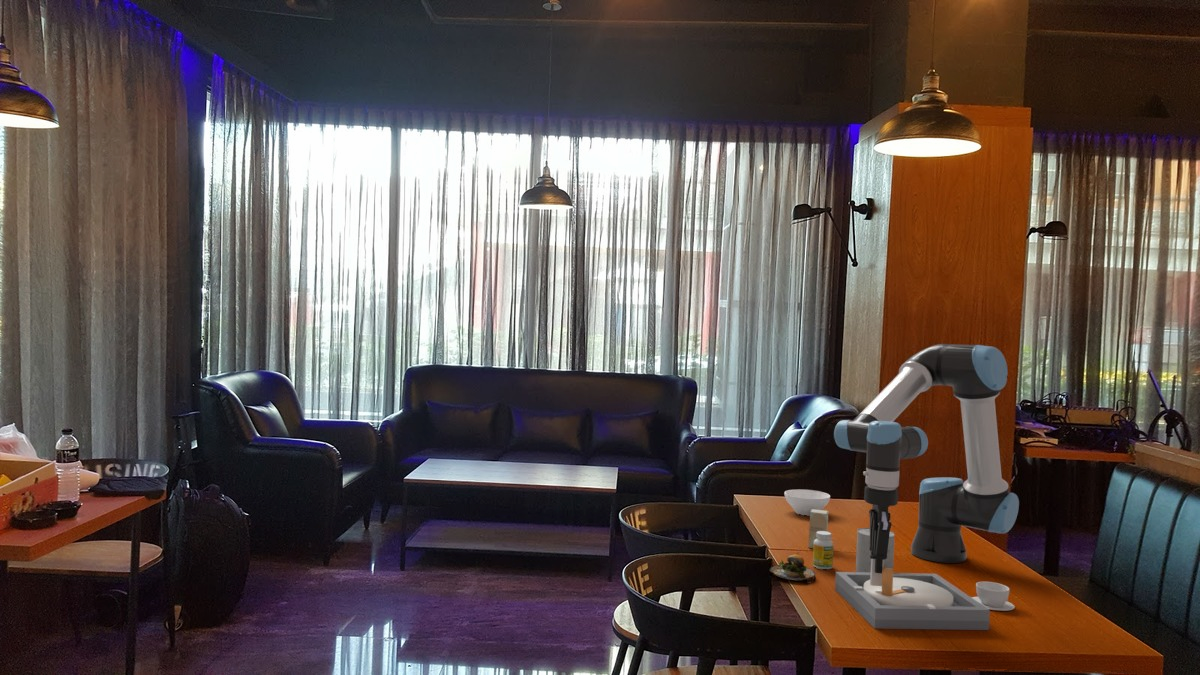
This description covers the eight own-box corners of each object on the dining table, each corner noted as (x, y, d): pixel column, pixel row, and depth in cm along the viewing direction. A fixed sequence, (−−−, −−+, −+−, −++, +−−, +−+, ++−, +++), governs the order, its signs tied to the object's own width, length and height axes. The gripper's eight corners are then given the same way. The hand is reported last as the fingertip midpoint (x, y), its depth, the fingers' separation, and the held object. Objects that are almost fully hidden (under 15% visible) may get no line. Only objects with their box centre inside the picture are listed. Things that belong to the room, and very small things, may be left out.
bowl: (785, 517, 281) (785, 497, 281) (782, 507, 297) (783, 488, 297) (832, 520, 279) (832, 500, 279) (826, 510, 295) (827, 491, 294)
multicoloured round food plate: (761, 573, 217) (762, 545, 217) (797, 569, 222) (797, 542, 222) (788, 587, 206) (789, 558, 206) (825, 582, 211) (826, 554, 211)
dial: (902, 581, 205) (903, 550, 205) (971, 606, 188) (973, 572, 188) (845, 591, 196) (846, 558, 196) (912, 619, 178) (914, 583, 178)
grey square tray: (935, 591, 205) (935, 572, 205) (988, 630, 179) (989, 608, 179) (835, 589, 204) (835, 570, 204) (874, 628, 178) (875, 606, 178)
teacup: (1012, 615, 190) (1013, 596, 190) (966, 606, 195) (967, 587, 195) (1016, 603, 198) (1017, 584, 198) (972, 595, 204) (973, 577, 204)
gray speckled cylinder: (892, 575, 218) (894, 530, 218) (893, 585, 209) (895, 538, 209) (855, 570, 221) (857, 526, 221) (854, 580, 212) (856, 534, 212)
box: (807, 547, 243) (809, 511, 242) (809, 544, 247) (811, 508, 246) (825, 550, 241) (827, 513, 240) (827, 546, 245) (828, 510, 244)
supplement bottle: (821, 563, 227) (822, 529, 227) (836, 568, 223) (838, 533, 222) (808, 565, 224) (809, 531, 224) (823, 571, 220) (824, 536, 219)
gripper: (860, 480, 198) (855, 575, 198) (870, 491, 185) (865, 592, 186) (891, 482, 197) (886, 577, 197) (904, 493, 184) (899, 595, 185)
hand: (876, 584), depth 191 cm, fingers closed
